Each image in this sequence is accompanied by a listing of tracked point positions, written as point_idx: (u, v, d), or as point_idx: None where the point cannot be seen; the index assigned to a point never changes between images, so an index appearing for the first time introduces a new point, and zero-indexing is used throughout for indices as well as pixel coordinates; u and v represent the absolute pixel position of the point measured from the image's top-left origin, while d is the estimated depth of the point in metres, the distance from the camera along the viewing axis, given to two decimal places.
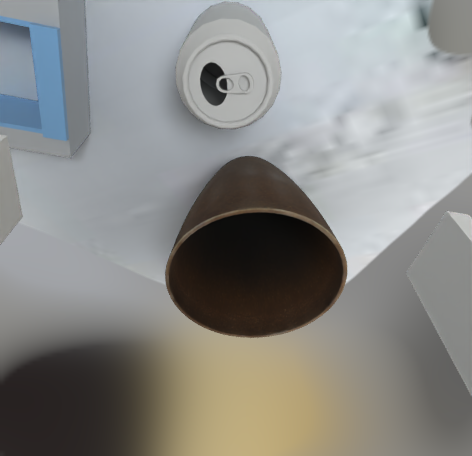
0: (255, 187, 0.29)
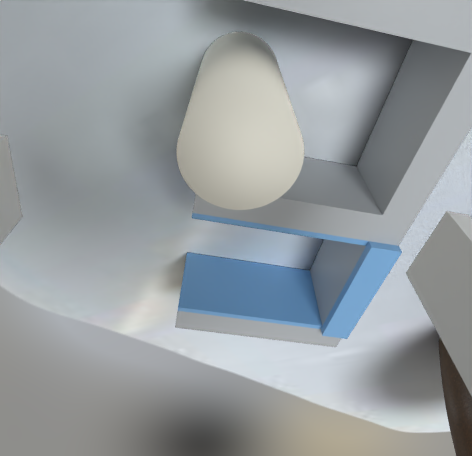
0: None
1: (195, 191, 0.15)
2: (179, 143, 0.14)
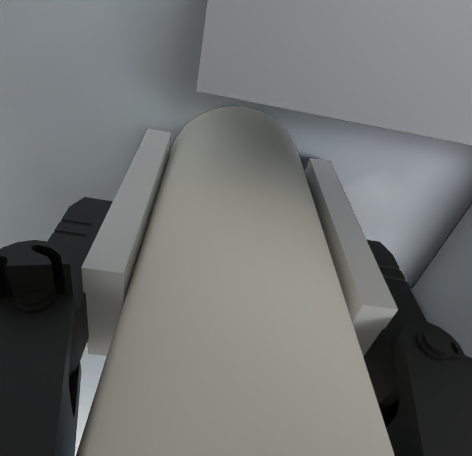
0: None
1: None
2: None
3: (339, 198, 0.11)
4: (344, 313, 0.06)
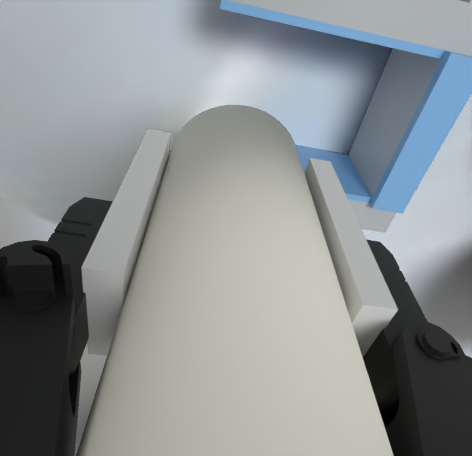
0: None
1: None
2: None
3: (339, 198, 0.11)
4: (341, 305, 0.07)
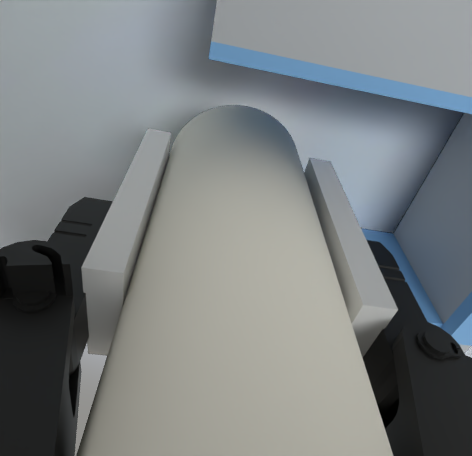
0: None
1: None
2: None
3: (339, 198, 0.11)
4: (341, 305, 0.07)
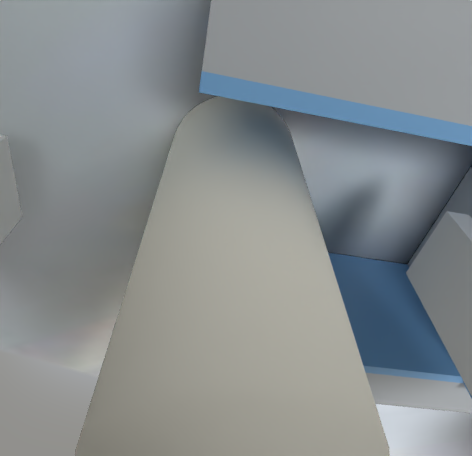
0: None
1: None
2: (81, 455, 0.05)
3: None
4: (327, 265, 0.07)
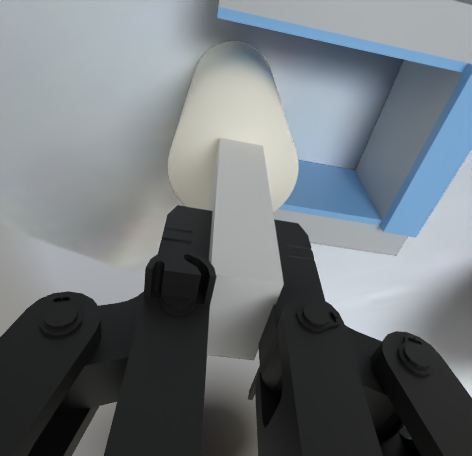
0: None
1: (187, 206, 0.14)
2: (170, 158, 0.13)
3: (259, 179, 0.11)
4: (279, 104, 0.15)
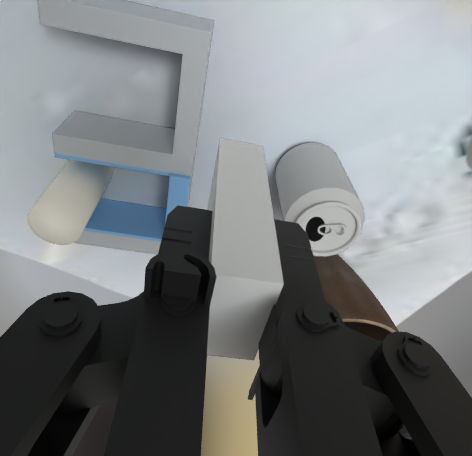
0: (337, 293, 0.38)
1: (40, 237, 0.35)
2: (28, 219, 0.33)
3: (259, 180, 0.11)
4: (83, 193, 0.35)
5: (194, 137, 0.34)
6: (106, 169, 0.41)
